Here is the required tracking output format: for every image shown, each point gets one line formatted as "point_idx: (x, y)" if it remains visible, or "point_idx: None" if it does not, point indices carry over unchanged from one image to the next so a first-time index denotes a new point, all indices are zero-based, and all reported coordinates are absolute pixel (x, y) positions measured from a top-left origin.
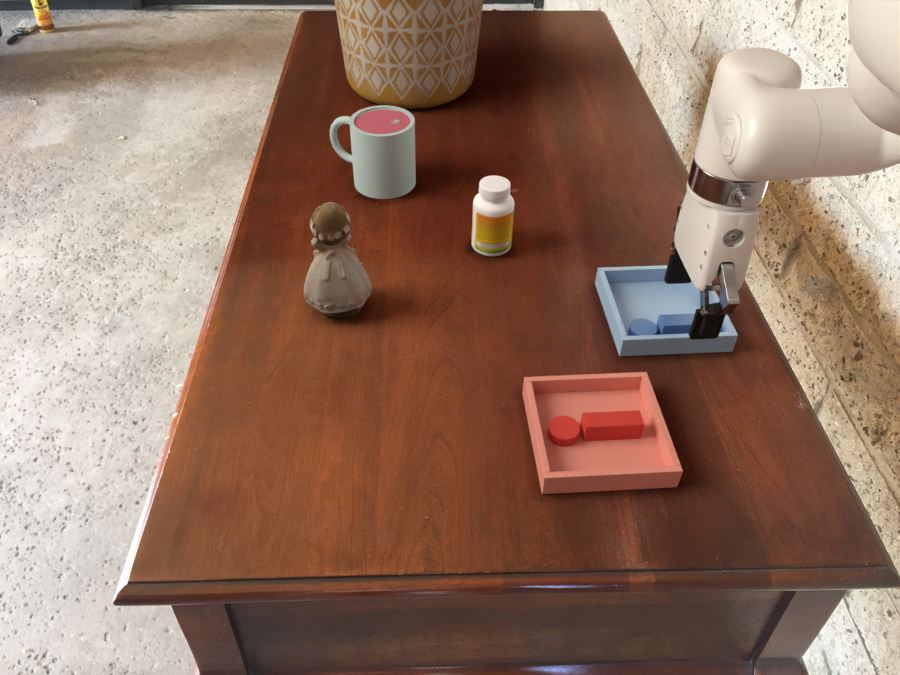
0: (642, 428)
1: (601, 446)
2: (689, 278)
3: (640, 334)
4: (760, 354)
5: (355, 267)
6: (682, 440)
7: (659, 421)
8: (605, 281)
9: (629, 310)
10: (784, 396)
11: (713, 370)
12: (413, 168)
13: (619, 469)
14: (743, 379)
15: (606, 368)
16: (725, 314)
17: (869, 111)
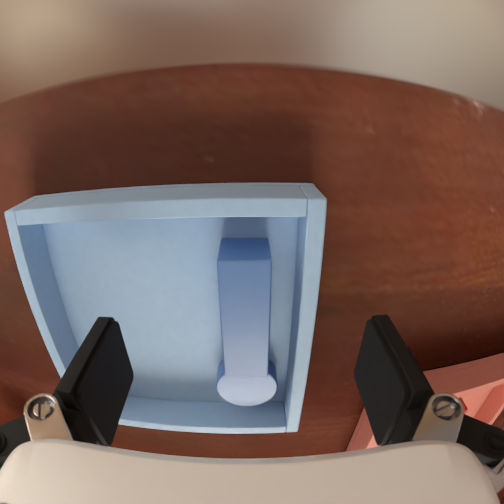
0: (464, 404)
1: None
2: (113, 337)
3: (270, 396)
4: (328, 109)
5: None
6: (474, 337)
7: (472, 393)
8: (120, 422)
9: (169, 375)
10: (457, 124)
11: (366, 251)
12: None
13: (491, 420)
14: (403, 192)
15: (316, 414)
16: (470, 420)
17: None
